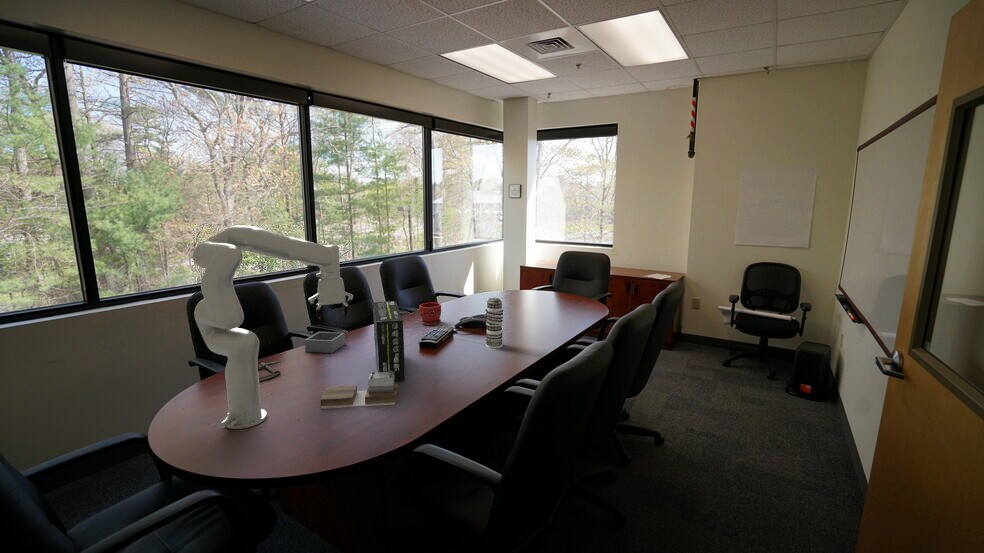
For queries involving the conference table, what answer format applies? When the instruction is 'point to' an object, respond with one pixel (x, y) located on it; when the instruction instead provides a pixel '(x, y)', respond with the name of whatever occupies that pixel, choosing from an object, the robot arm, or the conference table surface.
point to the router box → (389, 339)
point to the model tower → (494, 323)
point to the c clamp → (266, 365)
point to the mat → (358, 401)
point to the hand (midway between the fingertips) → (332, 316)
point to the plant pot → (430, 313)
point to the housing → (381, 382)
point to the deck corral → (324, 342)
